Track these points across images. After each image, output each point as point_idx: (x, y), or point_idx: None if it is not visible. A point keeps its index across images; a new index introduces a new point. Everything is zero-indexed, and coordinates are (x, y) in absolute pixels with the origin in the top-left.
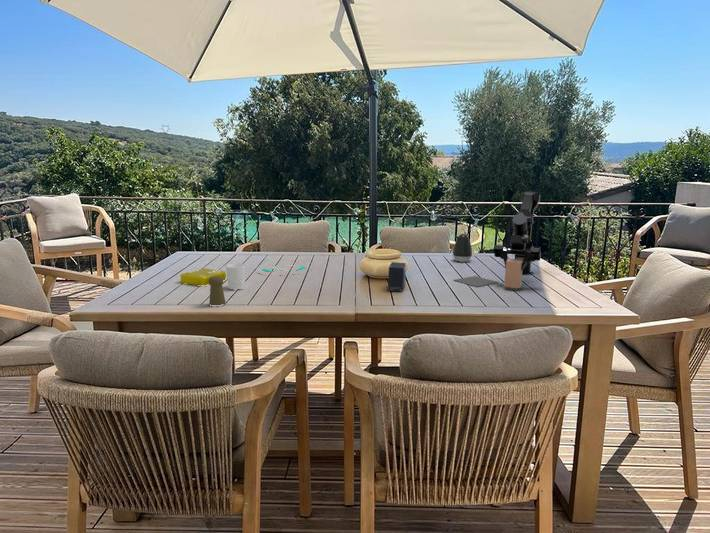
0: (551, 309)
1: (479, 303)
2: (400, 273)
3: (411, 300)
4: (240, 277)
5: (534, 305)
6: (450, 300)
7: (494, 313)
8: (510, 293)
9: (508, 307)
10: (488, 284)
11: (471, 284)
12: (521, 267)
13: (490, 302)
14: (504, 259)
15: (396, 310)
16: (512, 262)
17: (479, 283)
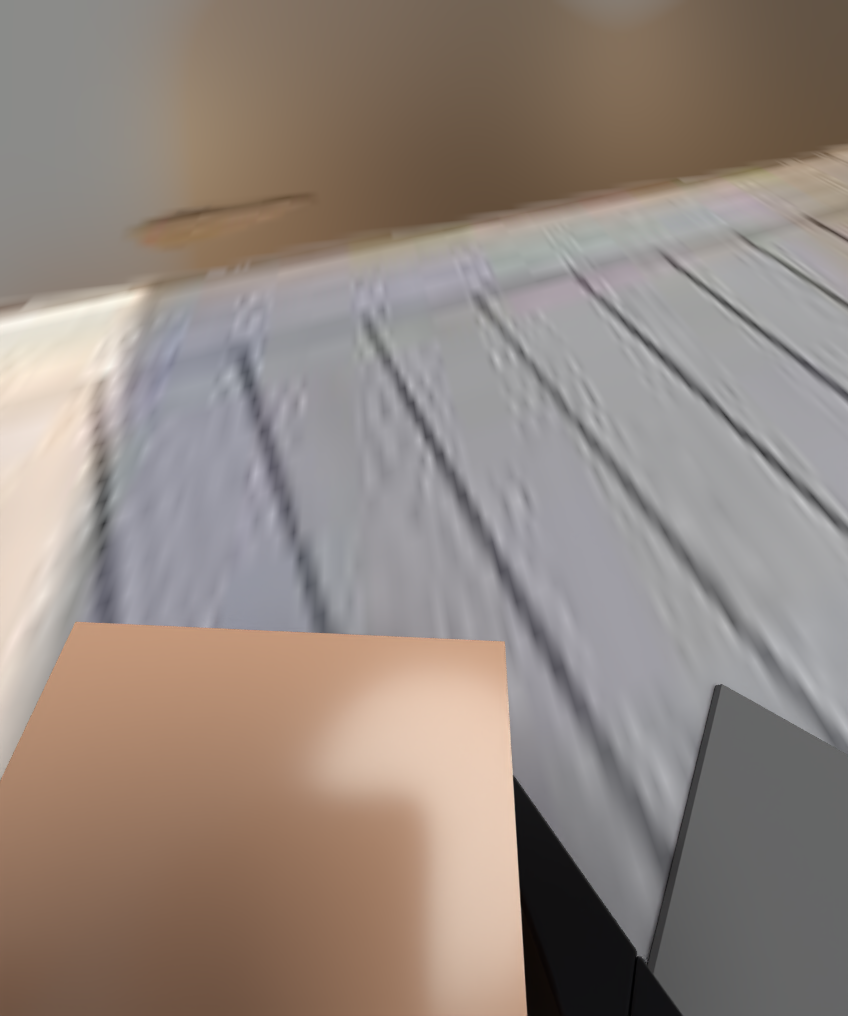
0: (139, 346)
1: (518, 322)
2: None
3: (815, 274)
4: None
5: (222, 377)
6: (669, 320)
7: (419, 242)
8: (373, 590)
9: (367, 313)
10: (670, 887)
11: (816, 753)
12: None
13: (470, 351)
14: (649, 985)
15: (753, 189)
16: (327, 636)
17: (779, 865)
